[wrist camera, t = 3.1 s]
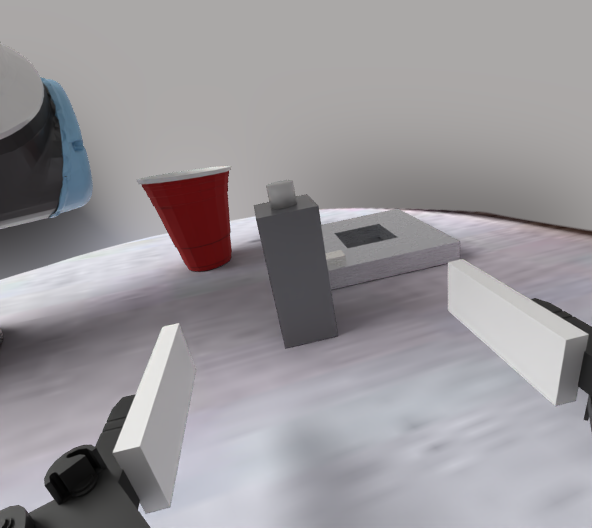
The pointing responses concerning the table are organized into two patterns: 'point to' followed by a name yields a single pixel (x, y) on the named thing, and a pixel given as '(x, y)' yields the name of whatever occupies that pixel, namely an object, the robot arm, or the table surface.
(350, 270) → the socket
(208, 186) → the plastic cup
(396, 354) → the table surface
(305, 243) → the plug
